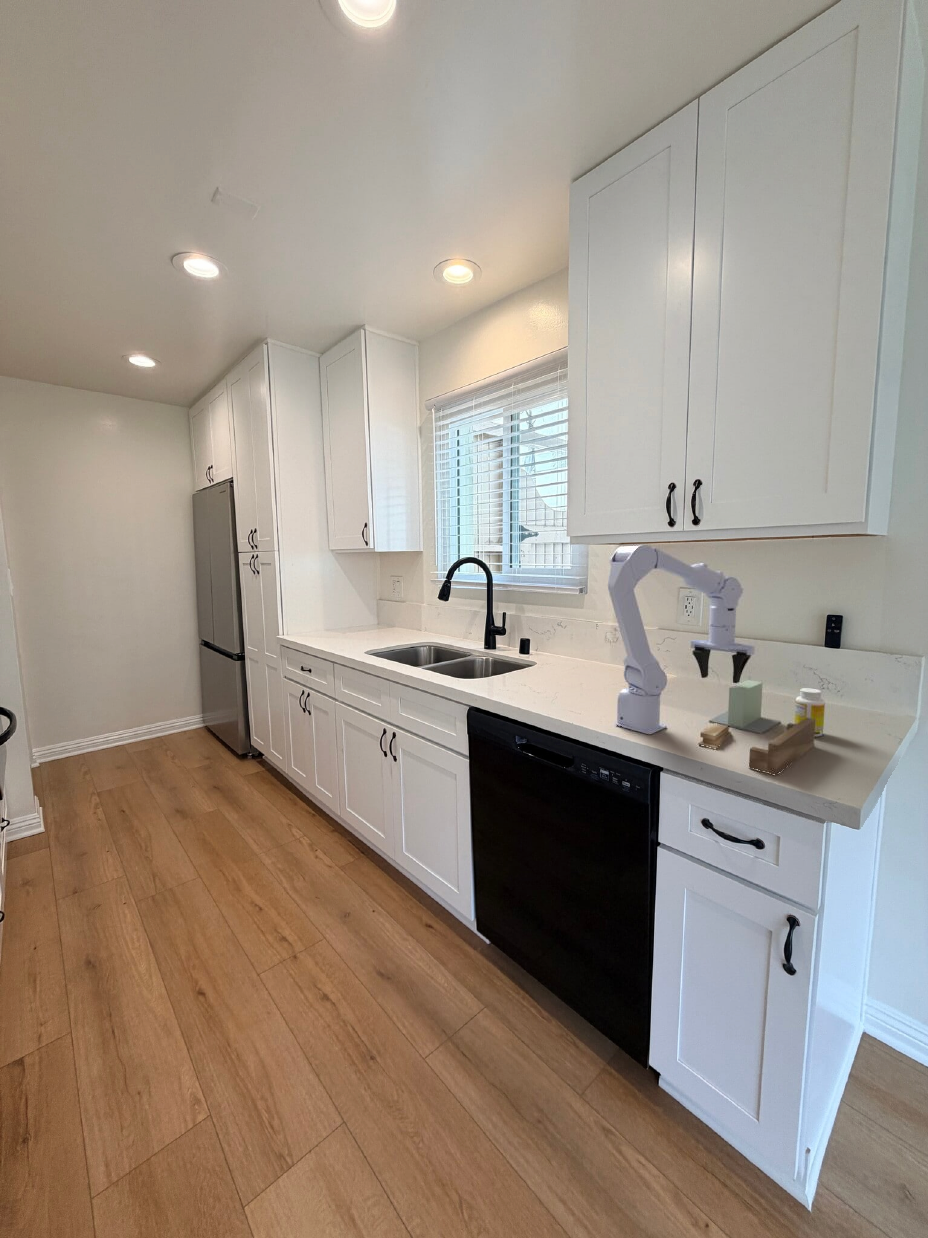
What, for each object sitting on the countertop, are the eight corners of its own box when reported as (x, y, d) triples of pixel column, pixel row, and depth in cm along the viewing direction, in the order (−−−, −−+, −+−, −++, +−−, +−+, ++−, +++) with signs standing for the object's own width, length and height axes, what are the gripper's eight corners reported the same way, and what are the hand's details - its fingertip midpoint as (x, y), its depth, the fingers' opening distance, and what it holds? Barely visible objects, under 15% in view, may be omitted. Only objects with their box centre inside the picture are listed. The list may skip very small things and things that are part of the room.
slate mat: (708, 722, 127) (709, 720, 126) (729, 711, 134) (729, 710, 134) (761, 734, 117) (761, 732, 117) (780, 722, 125) (780, 720, 125)
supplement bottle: (824, 732, 117) (827, 689, 116) (820, 739, 113) (823, 694, 112) (796, 727, 121) (798, 685, 120) (791, 734, 117) (793, 690, 116)
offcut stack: (697, 747, 111) (698, 734, 111) (713, 732, 120) (714, 720, 120) (717, 751, 109) (717, 738, 109) (731, 736, 118) (732, 723, 118)
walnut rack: (748, 768, 99) (750, 738, 98) (788, 740, 113) (790, 714, 113) (776, 776, 96) (777, 745, 95) (813, 746, 110) (815, 719, 109)
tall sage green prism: (727, 724, 124) (729, 687, 122) (746, 714, 131) (748, 680, 129) (742, 727, 121) (744, 690, 120) (760, 717, 128) (762, 682, 127)
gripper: (760, 626, 122) (758, 681, 123) (700, 621, 133) (698, 672, 134) (748, 629, 117) (746, 687, 119) (687, 624, 128) (685, 677, 130)
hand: (720, 679), depth 126 cm, fingers open, 7 cm apart
